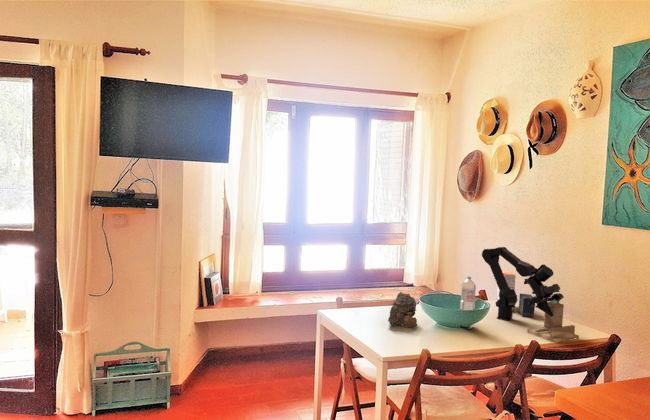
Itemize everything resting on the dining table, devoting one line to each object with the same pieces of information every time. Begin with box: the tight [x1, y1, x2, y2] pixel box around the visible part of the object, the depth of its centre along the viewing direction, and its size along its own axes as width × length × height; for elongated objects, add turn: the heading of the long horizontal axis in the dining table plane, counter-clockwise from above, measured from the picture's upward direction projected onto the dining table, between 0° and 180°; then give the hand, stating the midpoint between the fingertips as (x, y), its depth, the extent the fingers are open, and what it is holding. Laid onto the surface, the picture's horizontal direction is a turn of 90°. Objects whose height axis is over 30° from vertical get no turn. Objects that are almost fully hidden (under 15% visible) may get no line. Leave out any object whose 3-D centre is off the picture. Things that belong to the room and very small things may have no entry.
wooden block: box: [543, 301, 565, 329], centre depth 217 cm, size 6×6×13 cm
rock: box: [387, 292, 418, 328], centre depth 226 cm, size 18×14×15 cm
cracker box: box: [496, 269, 516, 311], centre depth 265 cm, size 14×6×21 cm, turn 174°
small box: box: [517, 293, 536, 318], centre depth 252 cm, size 11×6×10 cm, turn 168°
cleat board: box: [526, 324, 580, 343], centre depth 217 cm, size 16×16×6 cm
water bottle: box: [459, 276, 477, 329], centre depth 226 cm, size 7×7×25 cm
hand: (556, 315), depth 216 cm, fingers closed on wooden block, 5 cm apart
